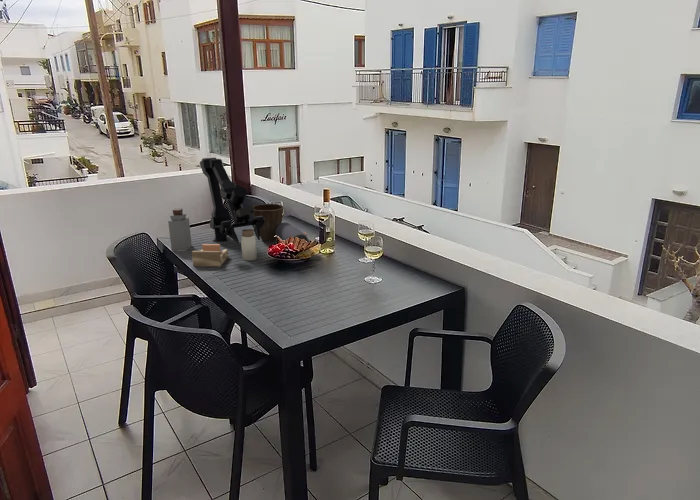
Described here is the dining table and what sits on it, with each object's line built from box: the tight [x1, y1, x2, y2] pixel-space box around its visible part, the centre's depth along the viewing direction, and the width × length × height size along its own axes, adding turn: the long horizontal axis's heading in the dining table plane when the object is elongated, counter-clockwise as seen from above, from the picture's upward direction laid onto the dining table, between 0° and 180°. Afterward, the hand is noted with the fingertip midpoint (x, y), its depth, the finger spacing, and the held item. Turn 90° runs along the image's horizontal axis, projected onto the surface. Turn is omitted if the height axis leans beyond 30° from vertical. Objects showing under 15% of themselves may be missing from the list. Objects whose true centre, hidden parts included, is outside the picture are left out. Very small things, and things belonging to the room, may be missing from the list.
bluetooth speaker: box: [276, 222, 310, 243], centre depth 211 cm, size 23×9×10 cm, turn 25°
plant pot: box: [252, 203, 284, 242], centre depth 223 cm, size 15×15×16 cm
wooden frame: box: [191, 248, 229, 267], centre depth 194 cm, size 12×11×6 cm
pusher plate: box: [201, 243, 222, 253], centre depth 195 cm, size 1×7×6 cm, turn 89°
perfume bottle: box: [167, 208, 193, 251], centre depth 210 cm, size 7×7×18 cm
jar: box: [240, 228, 258, 261], centre depth 197 cm, size 6×6×12 cm
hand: (248, 241), depth 196 cm, fingers open, 9 cm apart
